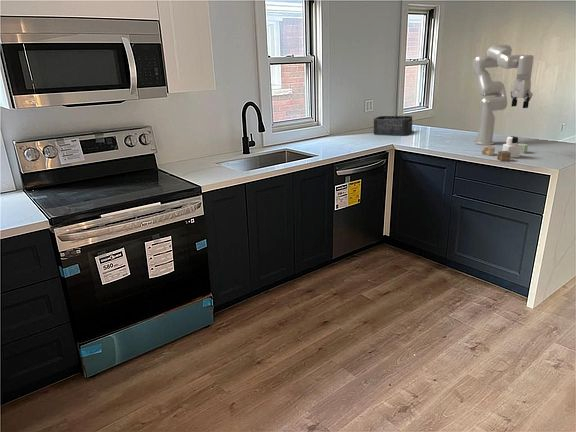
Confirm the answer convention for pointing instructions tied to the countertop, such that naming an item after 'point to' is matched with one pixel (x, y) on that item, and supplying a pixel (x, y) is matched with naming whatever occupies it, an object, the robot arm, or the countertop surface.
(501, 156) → the walnut cube
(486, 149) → the oak cube
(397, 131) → the storage bin
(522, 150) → the sage cube
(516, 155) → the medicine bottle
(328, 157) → the countertop surface
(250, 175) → the countertop surface
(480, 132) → the robot arm
